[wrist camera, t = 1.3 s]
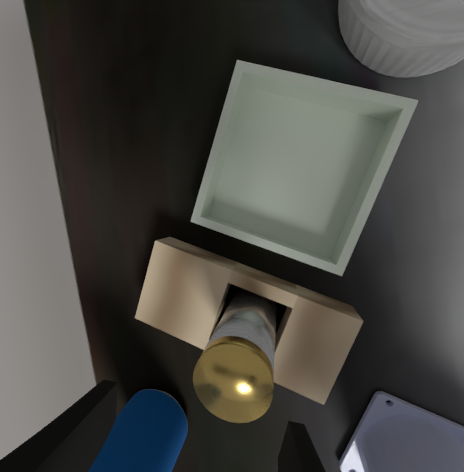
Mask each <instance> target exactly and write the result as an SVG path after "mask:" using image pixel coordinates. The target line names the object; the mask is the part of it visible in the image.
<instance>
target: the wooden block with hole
mask: <svg viewBox="0 0 464 472" xmlns="http://www.w3.org/2000/svg"><path fill="white" fill-rule="evenodd" d="M231 284H233V285H235V286H238V287H240V288H243V289H245V290H248V291H250V292H253V293H255V294H258V295H260V296H263V297H265V298H268V299H270V300H273V301H275V302H278V303H281V304H283V305H286V306H287V308H286V310H285V313H284V315H283V318H282V320H281V323H280V325H279V328H278V330H277V333H276V335H275V357H274V379H273V382H275V383H277V384H279V385H281V386H284V387H286V388H288V389H290V390H292V391H294V392H297V393H299V394H301V395H303V396H305V397H308V398H310V399H312V400H314V401H316V402H318V403H321V404H323V405H324V404H325V402H326V400H327V397H328V395H329V393H330V391H331V389H332V387H333V385H334V383H335V381H336V379H337V376H338V374H339V372H340V370H341V368H342V366H343V364H344V362H345V360H346V357H347V355H348V353H349V351H350V349H351V347H352V345H353V343H354V341H355V338H356V336H357V334H358V332H359V330H360V328H361V326H362V324H363V322H364V321H363V320H362V319H361V317H360V316H359V314H358V313H357V312H356V310H355V309H354V308H353V306H351V305H349V304H346V303H343V302H341V301H338V300H336V299H333V298H330V297H328V296H325V295H322V294H320V293H317V292H314V291H312V290H309V289H307V288H304V287H301V286H299V285H296V284H293V283H291V282H288V281H286V280H283V279H280V278H278V277H275V276H272V275H270V274H267V273H265V272H262V271H259V270H257V269H254V268H251V267H249V266H246V265H243V264H241V263H238V262H236V261H233V260H230V259H228V258H225V257H222V256H220V255H217V254H215V253H212V252H209V251H207V250H204V249H201V248H199V247H196V246H193V245H191V244H188V243H186V242H183V241H180V240H178V239H175V238H172V237H167V238H163V239H159V240H155V243H154V247H153V251H152V254H151V258H150V262H149V266H148V270H147V273H146V277H145V281H144V285H143V289H142V292H141V296H140V300H139V304H138V308H137V311H136V315H135V318H136V319H138V320H140V321H142V322H145V323H147V324H149V325H151V326H153V327H155V328H158V329H160V330H162V331H164V332H166V333H168V334H171V335H173V336H175V337H177V338H179V339H181V340H184V341H186V342H188V343H190V344H192V345H194V346H197V347H199V348H201V349H203V350H204V349H205V348H206V346H207V344H208V342H209V340H210V338H211V337H212V335H213V333H214V331H215V329H216V327H217V326H218V324H217V323H218V320H219V318H220V315H221V312H222V309H223V306H224V303H225V300H226V297H227V294H228V291H229V288H230V285H231Z"/></svg>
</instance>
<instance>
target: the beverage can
mask: <svg viewBox="0 0 464 472" xmlns="http://www.w3.org/2000/svg"><path fill="white" fill-rule="evenodd" d="M187 431H188V423H187V419H186V415H185V413H184V411H183V409H182V408H181V406H180V404H179V403H178V402H177V400H176V399H175V398H174V397H173V396H171V395H170V394H168V393H166V392H164V391H160V390H155V389H145V390H141V391H139V392H137V393H136V394H135V395H134V396H133V397H132V398H131V399H130V400H129V402H128V403H127V404H126V405H125V407H124V408H123V409H122V410H121V412H120V413H119V414H118V416H117V417H116V420H115V423H114V425H113V427H112V429H111V431H110V433H109V435H108V437H107V439H106V441H105V443H104V445H103V447H102V449H101V451H100V453H99V454H98V456H97V458H96V459H95V461H94V463H93V464H92V466H91V468H90V469H89V471H88V472H172V469H173V467H174V464H175V462H176V460H177V457H178V455H179V453H180V450H181V448H182V445H183V443H184V441H185V438H186V436H187Z"/></svg>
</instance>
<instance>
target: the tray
mask: <svg viewBox="0 0 464 472" xmlns="http://www.w3.org/2000/svg"><path fill="white" fill-rule="evenodd" d="M418 101H419V100H415V99H410V98H406V97H401V96H397V95H393V94H388V93H384V92H379V91H375V90H370V89H366V88H361V87H357V86H352V85H348V84H343V83H339V82H334V81H330V80H325V79H321V78H316V77H312V76H307V75H303V74H298V73H294V72H289V71H285V70H280V69H276V68H271V67H267V66H262V65H258V64H253V63H249V62H244V61H240V60H237V62H236V65H235V69H234V72H233V76H232V79H231V83H230V86H229V90H228V93H227V97H226V100H225V103H224V107H223V110H222V114H221V117H220V121H219V124H218V128H217V131H216V135H215V138H214V142H213V145H212V149H211V152H210V155H209V159H208V162H207V166H206V169H205V173H204V176H203V180H202V183H201V187H200V190H199V194H198V197H197V201H196V204H195V207H194V211H193V214H192V218H191V221H190V222H193V223H196V224H198V225H201V226H204V227H207V228H209V229H212V230H215V231H218V232H221V233H223V234H226V235H229V236H232V237H234V238H237V239H240V240H243V241H245V242H248V243H251V244H254V245H256V246H259V247H262V248H265V249H268V250H270V251H273V252H276V253H279V254H281V255H284V256H287V257H290V258H292V259H295V260H298V261H301V262H303V263H306V264H309V265H312V266H315V267H317V268H320V269H323V270H326V271H328V272H331V273H334V274H337V275H339V276H342V275H343V273H344V271H345V268H346V266H347V264H348V261H349V259H350V257H351V255H352V252H353V250H354V248H355V245H356V243H357V241H358V239H359V236H360V234H361V232H362V229H363V227H364V225H365V223H366V220H367V218H368V216H369V213H370V211H371V209H372V206H373V204H374V202H375V200H376V197H377V195H378V193H379V190H380V188H381V186H382V184H383V181H384V179H385V177H386V174H387V172H388V170H389V168H390V165H391V163H392V161H393V158H394V156H395V154H396V151H397V149H398V147H399V145H400V142H401V140H402V138H403V135H404V133H405V131H406V129H407V126H408V124H409V122H410V119H411V117H412V115H413V113H414V110H415V108H416V106H417V103H418Z"/></svg>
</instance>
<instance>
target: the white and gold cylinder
mask: <svg viewBox="0 0 464 472" xmlns="http://www.w3.org/2000/svg"><path fill="white" fill-rule="evenodd" d="M276 313H277V310H276V305H275V303H274V301H273V300H270V299H268V298H265V297H263V296H260V295H258V294H255V293H253V292H250V291H248V290H245V289H242V290H240V291H238V292H237V293H236V294H235V295H234V297H233V298H232V300H231V302H230V304H229V305H228V307H227V309H226V311H225V313H224V315H223V316H222V318H221V320H220V322H219V324H218V326H217V327H216V329H215V331H214V333H213V335H212V337H211V338H210V340H209V342H208V344H207V346H206V348H205V349H204V351H203V353H202V355H201V357H200V359H199V360H198V362H197V364H196V366H195V369H194V374H193V383H194V388H195V391H196V394H197V396H198V398H199V399H200V401H201V402H202V404H203V405H204V406H205V407H206V408H207V409H208V410H209V411H210V412H211V413H213V414H214V415H215V416H217V417H219V418H221V419H223V420H226V421H229V422H234V423H246V422H250V421H253V420H256V419H258V418H259V417H261V416H262V415H263V414H264V413H265V412H266V411H267V410H268V408H269V406H270V404H271V401H272V397H273V379H274V357H275V335H276Z"/></svg>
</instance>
